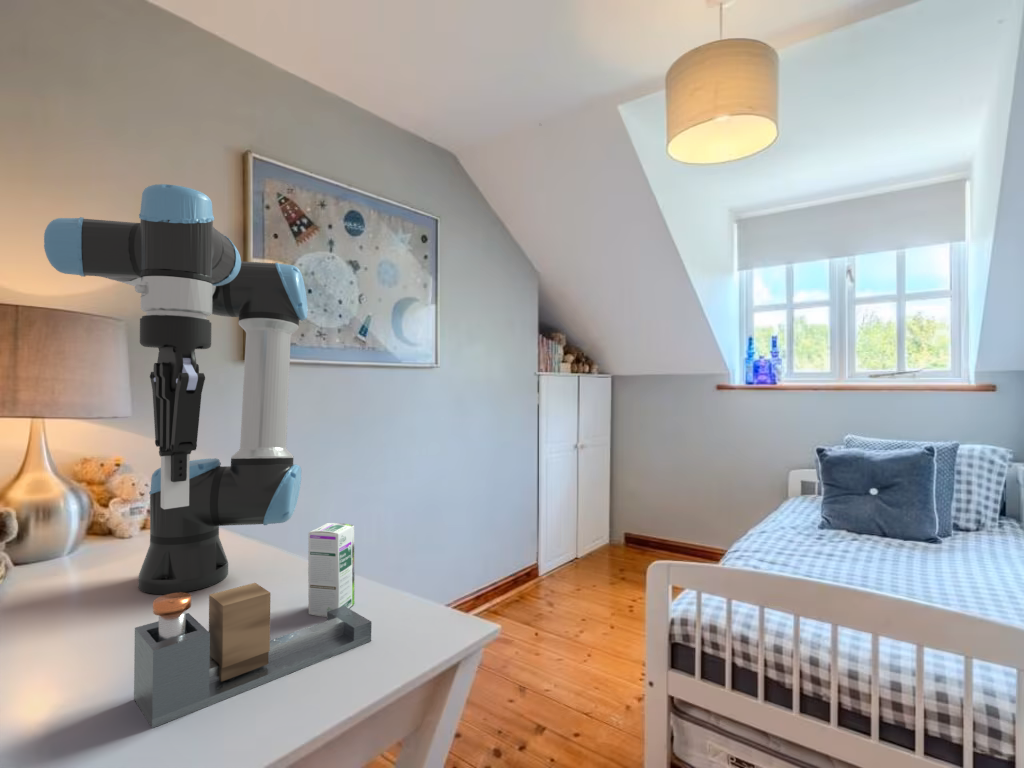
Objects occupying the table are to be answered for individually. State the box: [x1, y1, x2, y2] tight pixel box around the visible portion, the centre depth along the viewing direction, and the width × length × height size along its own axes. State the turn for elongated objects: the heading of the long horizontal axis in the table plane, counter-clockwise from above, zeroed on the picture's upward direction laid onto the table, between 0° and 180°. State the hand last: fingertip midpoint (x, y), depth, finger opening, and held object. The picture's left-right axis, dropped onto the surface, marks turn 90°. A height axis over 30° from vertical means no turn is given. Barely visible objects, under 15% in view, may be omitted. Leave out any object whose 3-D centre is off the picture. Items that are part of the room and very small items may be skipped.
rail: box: [133, 606, 372, 729], centre depth 75 cm, size 8×29×9 cm, turn 137°
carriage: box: [208, 582, 271, 682], centre depth 73 cm, size 5×6×10 cm
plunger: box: [152, 592, 192, 642], centre depth 67 cm, size 4×4×10 cm
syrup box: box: [307, 522, 355, 618], centre depth 94 cm, size 6×6×14 cm
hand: (174, 506), depth 67 cm, fingers closed
